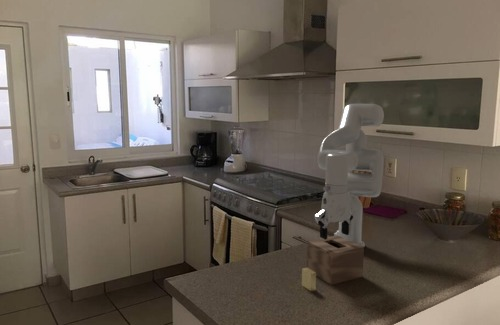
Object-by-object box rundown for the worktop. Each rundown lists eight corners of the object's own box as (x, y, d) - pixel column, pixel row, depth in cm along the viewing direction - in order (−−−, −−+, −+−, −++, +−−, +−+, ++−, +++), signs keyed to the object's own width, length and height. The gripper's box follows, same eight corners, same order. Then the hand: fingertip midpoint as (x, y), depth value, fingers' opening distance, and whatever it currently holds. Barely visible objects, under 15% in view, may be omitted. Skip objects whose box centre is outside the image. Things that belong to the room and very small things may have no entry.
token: (301, 285, 140) (302, 268, 139) (306, 284, 141) (306, 267, 140) (310, 291, 136) (311, 274, 135) (315, 290, 137) (316, 272, 136)
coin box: (306, 270, 153) (307, 241, 151) (336, 263, 159) (337, 235, 158) (331, 284, 141) (332, 253, 139) (362, 276, 147) (364, 246, 146)
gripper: (323, 193, 137) (321, 243, 140) (362, 188, 146) (360, 235, 148) (309, 189, 144) (308, 236, 147) (347, 184, 152) (346, 229, 155)
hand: (334, 236), depth 147 cm, fingers open, 9 cm apart
